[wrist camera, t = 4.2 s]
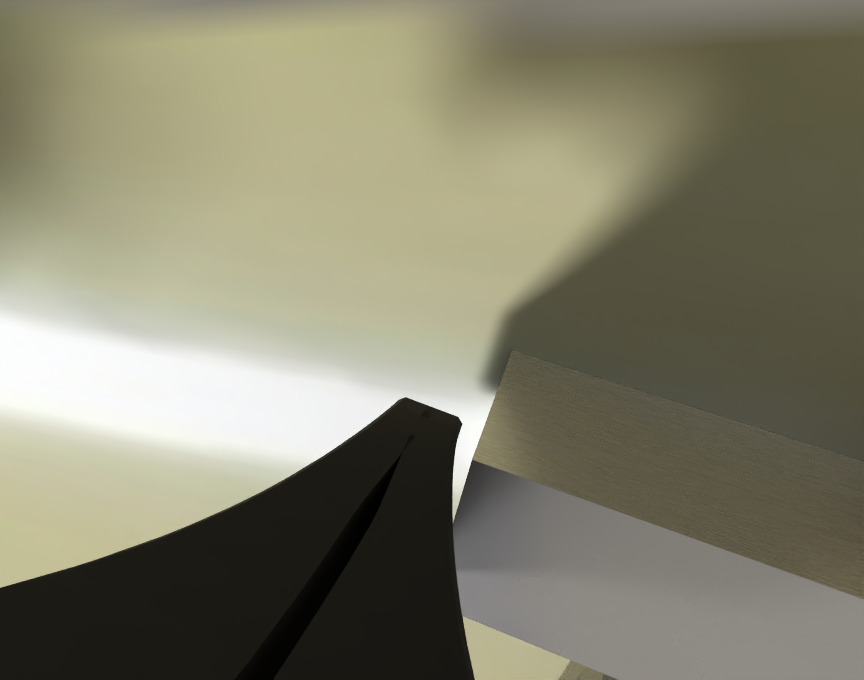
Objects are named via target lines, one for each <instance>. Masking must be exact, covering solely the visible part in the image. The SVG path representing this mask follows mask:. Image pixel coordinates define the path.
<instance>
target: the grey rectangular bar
mask: <svg viewBox="0 0 864 680" xmlns="http://www.w3.org/2000/svg"><path fill="white" fill-rule="evenodd" d="M453 538H454V553H455V564H456V574H457V583H458V590H459V597H460V605H461V611H462V616H464V617H466V618H469V619H471V620H474V621H476V622H479V623H481V624H483V625H486V626H488V627H491V628H493V629H496V630H498V631H501V632H503V633H505V634H508V635H510V636H513V637H515V638H518V639H520V640H523V641H525V642H527V643H530V644H532V645H535V646H537V647H540V648H542V649H545V650H547V651H549V652H552V653H554V654H557V655H559V656H562V657H564V658H567V659H569V660H571V661H574V662H576V663H579V664H581V665H584V666H586V667H589V668H591V669H593V670H596V671H598V672H601V673H603V674H606V675H608V676H611V677H613V678H615V679H618V680H864V461H861V460H857V459H854V458H851V457H848V456H845V455H842V454H839V453H835V452H832V451H829V450H826V449H823V448H820V447H816V446H813V445H810V444H807V443H804V442H801V441H798V440H794V439H791V438H788V437H785V436H782V435H779V434H775V433H772V432H769V431H766V430H763V429H760V428H757V427H753V426H750V425H747V424H744V423H741V422H738V421H734V420H731V419H728V418H725V417H722V416H719V415H716V414H712V413H709V412H706V411H703V410H700V409H697V408H693V407H690V406H687V405H684V404H681V403H678V402H675V401H671V400H668V399H665V398H662V397H659V396H656V395H652V394H649V393H646V392H643V391H640V390H637V389H633V388H630V387H627V386H624V385H621V384H618V383H615V382H611V381H608V380H605V379H602V378H599V377H596V376H592V375H589V374H586V373H583V372H580V371H577V370H574V369H570V368H567V367H564V366H561V365H558V364H555V363H551V362H548V361H545V360H542V359H539V358H536V357H533V356H529V355H526V354H523V353H520V352H517V351H514V350H512V352H511V355H510V357H509V360H508V363H507V366H506V368H505V371H504V374H503V377H502V379H501V382H500V385H499V388H498V390H497V393H496V396H495V399H494V401H493V404H492V407H491V410H490V412H489V415H488V418H487V421H486V423H485V426H484V429H483V432H482V434H481V437H480V440H479V442H478V445H477V448H476V451H475V453H474V456H473V459H472V462H471V465H470V469H469V472H468V475H467V479H466V482H465V485H464V489H463V492H462V495H461V499H460V502H459V505H458V509H457V512H456V515H455V519H454V522H453Z"/></svg>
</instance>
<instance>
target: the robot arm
mask: <svg viewBox="0 0 864 680" xmlns="http://www.w3.org/2000/svg"><path fill="white" fill-rule="evenodd" d="M461 426H462V423H461V421H460V419H459V417H457V416H454V415H451V414H449V413H446V412H443V411H441V410H438V409H435V408H433V407H430V406H427V405H425V404H422V403H419V402H417V401H414V400H412V399H409V398H406V397H405V398H403V399H400V400H398V401H397V402H396V403H395V404H394V405H393V406H391V407H390V408H389V409H388V410H387V411H385V412H384V413H383V414H382V415H380V416H379V417H378V418H377V419H375V420H374V421H373V422H371V423H370V424H369V425H367V426H366V427H365V428H363V429H362V430H361V431H359V432H358V433H357V434H355V435H354V436H352V437H351V438H349V439H348V440H346V441H345V442H343V443H342V444H341V445H339V446H338V447H336V448H335V449H333V450H332V451H330V452H329V453H327V454H326V455H324V456H323V457H321V458H319V459H318V460H316V461H314V462H313V463H311V464H309V465H308V466H306V467H305V468H303V469H301V470H300V471H298V472H296V473H295V474H293V475H291V476H290V477H288V478H286V479H284V480H283V481H281V482H279V483H277V484H275V485H273V486H272V487H270V488H268V489H266V490H264V491H262V492H260V493H258V494H256V495H254V496H252V497H250V498H248V499H246V500H244V501H242V502H240V503H238V504H236V505H234V506H232V507H230V508H228V509H225V510H223V511H221V512H219V513H216V514H214V515H212V516H210V517H207V518H205V519H203V520H201V521H198V522H196V523H194V524H191V525H189V526H187V527H184V528H182V529H179V530H177V531H174V532H172V533H169V534H167V535H164V536H162V537H159V538H156V539H153V540H150V541H147V542H145V543H142V544H139V545H136V546H133V547H131V548H128V549H125V550H122V551H119V552H117V553H114V554H111V555H108V556H105V557H103V558H100V559H97V560H94V561H91V562H87V563H84V564H81V565H78V566H75V567H71V568H68V569H65V570H61V571H58V572H54V573H51V574H47V575H44V576H40V577H37V578H33V579H30V580H26V581H23V582H19V583H16V584H12V585H9V586H5V587H2V588H0V680H475V679H474V674H473V669H472V665H471V660H470V656H469V651H468V646H467V641H466V635H465V629H464V623H463V617H462V611H461V605H460V597H459V590H458V583H457V574H456V564H455V553H454V538H453V518H452V482H453V466H454V456H455V449H456V443H457V438H458V435H459V432H460V429H461Z"/></svg>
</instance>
